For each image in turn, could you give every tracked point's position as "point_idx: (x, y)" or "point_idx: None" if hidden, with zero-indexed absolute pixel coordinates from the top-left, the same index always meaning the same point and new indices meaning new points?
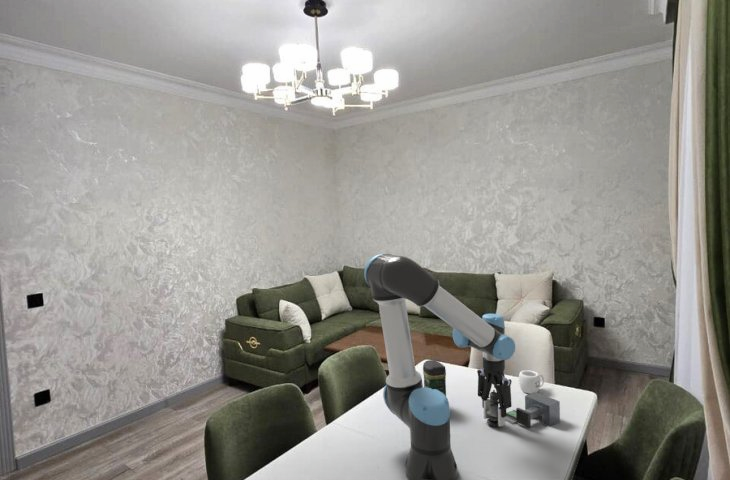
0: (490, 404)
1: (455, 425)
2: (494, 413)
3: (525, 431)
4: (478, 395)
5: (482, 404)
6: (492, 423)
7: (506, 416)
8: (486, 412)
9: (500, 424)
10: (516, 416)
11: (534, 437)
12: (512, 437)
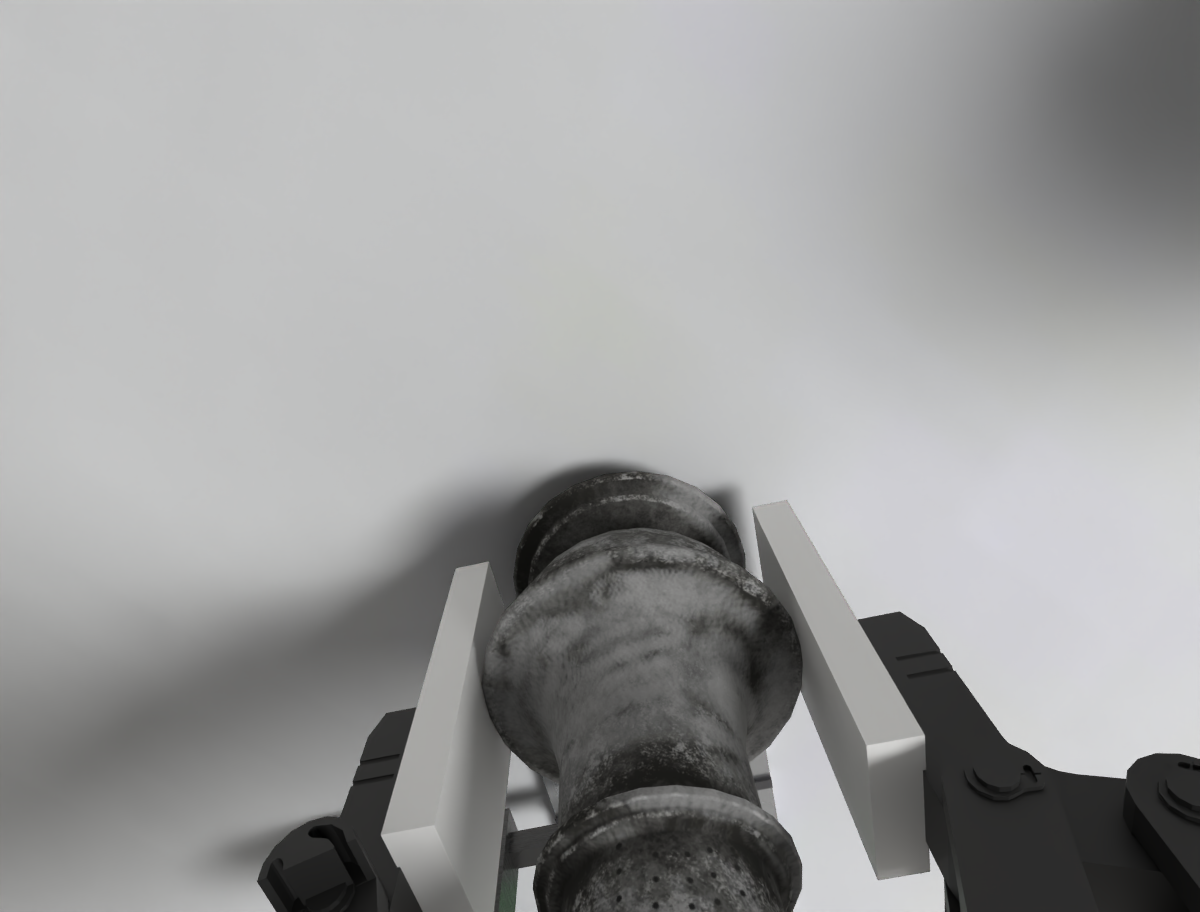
0: (673, 769)
1: None
2: (550, 663)
3: (340, 775)
4: (1186, 771)
5: (942, 655)
6: (572, 522)
7: None
8: (705, 568)
9: (456, 597)
10: (499, 883)
11: (186, 781)
12: (243, 574)
